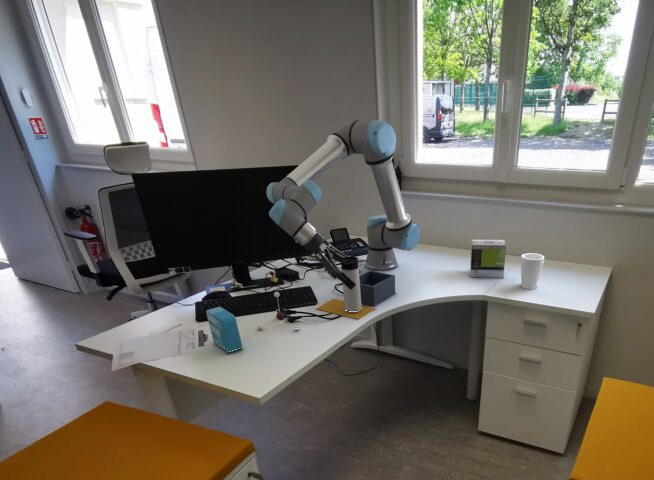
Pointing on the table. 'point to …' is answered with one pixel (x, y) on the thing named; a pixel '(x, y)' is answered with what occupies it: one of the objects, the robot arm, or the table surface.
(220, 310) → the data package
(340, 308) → the desk mat
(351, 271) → the travel mug
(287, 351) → the table surface
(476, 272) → the tea box
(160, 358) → the table surface
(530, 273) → the foam cup
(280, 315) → the molecular model
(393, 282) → the bin
